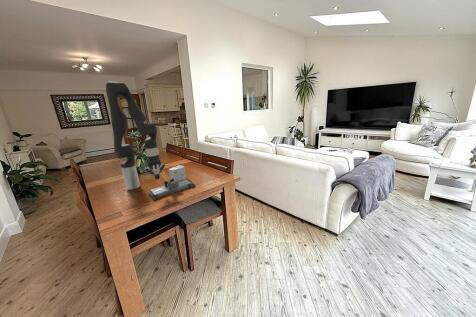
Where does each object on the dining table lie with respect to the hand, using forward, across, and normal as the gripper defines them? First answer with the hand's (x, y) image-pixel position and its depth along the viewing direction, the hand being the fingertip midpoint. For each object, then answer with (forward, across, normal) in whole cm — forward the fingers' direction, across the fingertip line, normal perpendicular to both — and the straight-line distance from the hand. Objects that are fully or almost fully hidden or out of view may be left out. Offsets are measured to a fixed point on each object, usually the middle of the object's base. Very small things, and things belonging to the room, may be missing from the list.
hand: (157, 179), depth 129 cm
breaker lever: (+7, -8, 0) cm, 11 cm away
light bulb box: (+11, -19, -15) cm, 27 cm away
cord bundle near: (+11, +4, 0) cm, 12 cm away
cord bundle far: (+11, -21, 0) cm, 24 cm away
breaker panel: (+11, -8, 0) cm, 14 cm away
